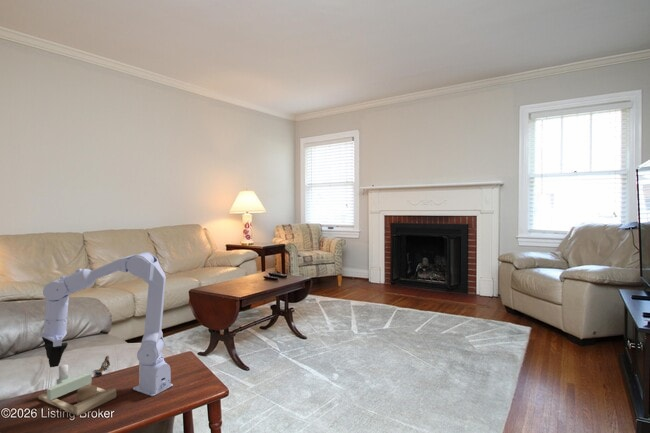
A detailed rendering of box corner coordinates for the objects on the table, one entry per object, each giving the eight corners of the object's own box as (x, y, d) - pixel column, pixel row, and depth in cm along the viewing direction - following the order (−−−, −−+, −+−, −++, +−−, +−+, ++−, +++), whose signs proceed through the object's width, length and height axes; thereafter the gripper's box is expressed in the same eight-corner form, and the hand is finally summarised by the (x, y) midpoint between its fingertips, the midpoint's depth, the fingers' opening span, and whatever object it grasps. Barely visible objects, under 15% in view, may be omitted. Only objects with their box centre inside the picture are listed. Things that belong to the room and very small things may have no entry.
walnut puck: (100, 400, 113) (100, 387, 112) (83, 408, 108) (83, 394, 108) (90, 396, 115) (90, 383, 115) (73, 404, 110) (73, 390, 110)
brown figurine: (112, 362, 137) (110, 353, 135) (103, 380, 130) (101, 371, 128) (107, 363, 137) (105, 354, 135) (98, 381, 130) (95, 371, 128)
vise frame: (116, 397, 114) (116, 389, 114) (77, 415, 104) (77, 407, 104) (77, 382, 123) (77, 375, 123) (38, 398, 113) (38, 390, 113)
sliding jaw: (91, 383, 120) (91, 361, 120) (50, 400, 109) (50, 376, 109) (80, 379, 123) (80, 358, 122) (39, 395, 112) (39, 372, 112)
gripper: (38, 313, 117) (34, 356, 118) (42, 327, 107) (38, 373, 107) (64, 311, 122) (61, 351, 122) (71, 323, 111) (67, 368, 112)
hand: (52, 361), depth 115 cm, fingers open, 7 cm apart
